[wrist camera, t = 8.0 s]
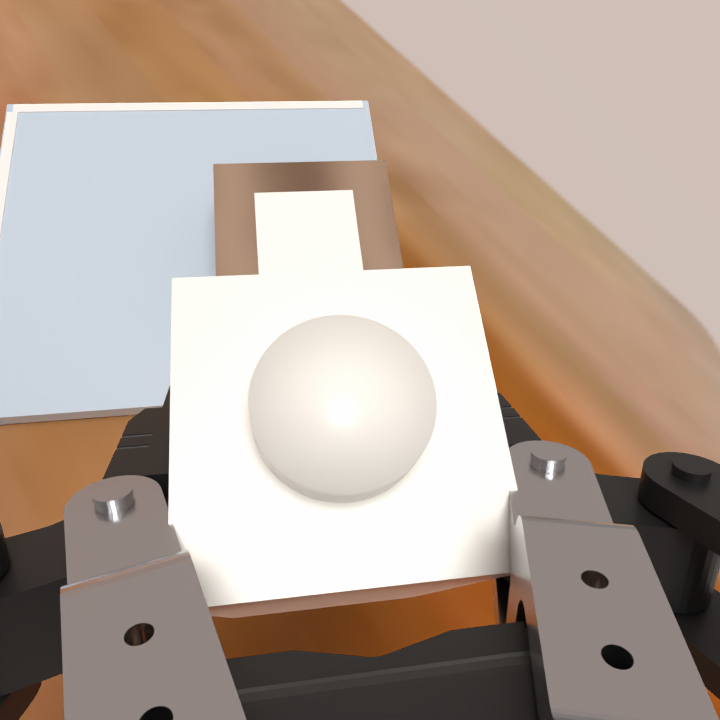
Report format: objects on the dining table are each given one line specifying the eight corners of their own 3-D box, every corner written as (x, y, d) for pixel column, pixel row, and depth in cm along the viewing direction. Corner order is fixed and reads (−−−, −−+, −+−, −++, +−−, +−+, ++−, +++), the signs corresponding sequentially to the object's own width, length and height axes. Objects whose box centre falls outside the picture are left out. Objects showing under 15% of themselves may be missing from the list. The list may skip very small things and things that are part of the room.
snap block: (233, 618, 15) (156, 610, 6) (228, 440, 16) (163, 254, 8) (412, 597, 15) (552, 565, 7) (390, 428, 17) (481, 244, 9)
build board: (-31, 427, 29) (-93, 389, 25) (14, 117, 37) (-27, 44, 32) (410, 393, 32) (429, 354, 28) (366, 112, 40) (375, 45, 35)
